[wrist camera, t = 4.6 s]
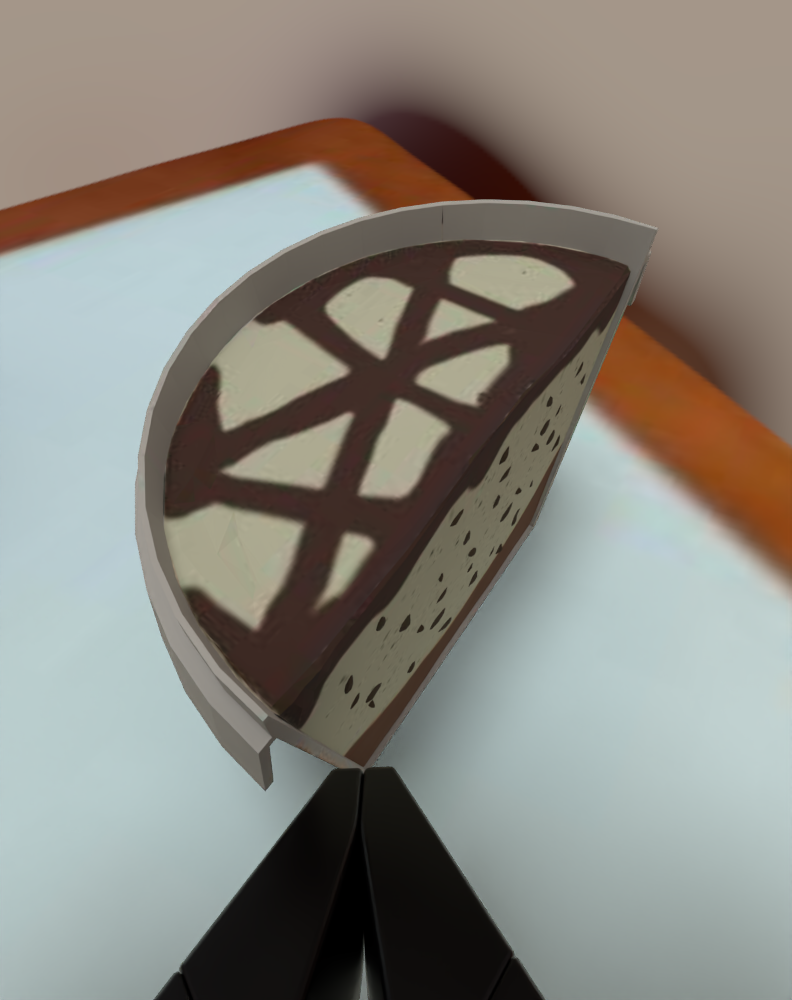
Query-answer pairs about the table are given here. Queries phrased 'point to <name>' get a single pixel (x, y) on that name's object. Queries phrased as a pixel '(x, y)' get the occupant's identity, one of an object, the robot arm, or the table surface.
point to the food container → (366, 458)
